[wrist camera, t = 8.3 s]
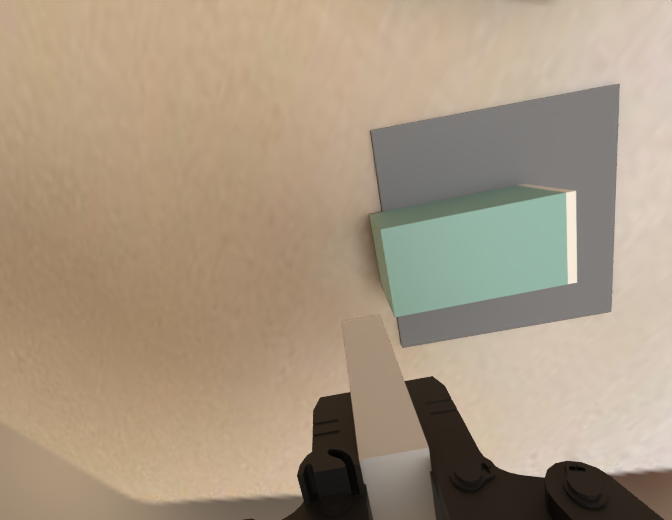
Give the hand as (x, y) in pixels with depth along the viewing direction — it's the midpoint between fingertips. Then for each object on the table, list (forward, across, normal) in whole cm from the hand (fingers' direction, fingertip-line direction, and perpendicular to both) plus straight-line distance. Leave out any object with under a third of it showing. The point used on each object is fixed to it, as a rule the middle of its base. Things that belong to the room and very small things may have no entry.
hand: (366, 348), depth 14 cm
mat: (+15, +13, -1) cm, 20 cm away
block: (+12, +2, -1) cm, 12 cm away
